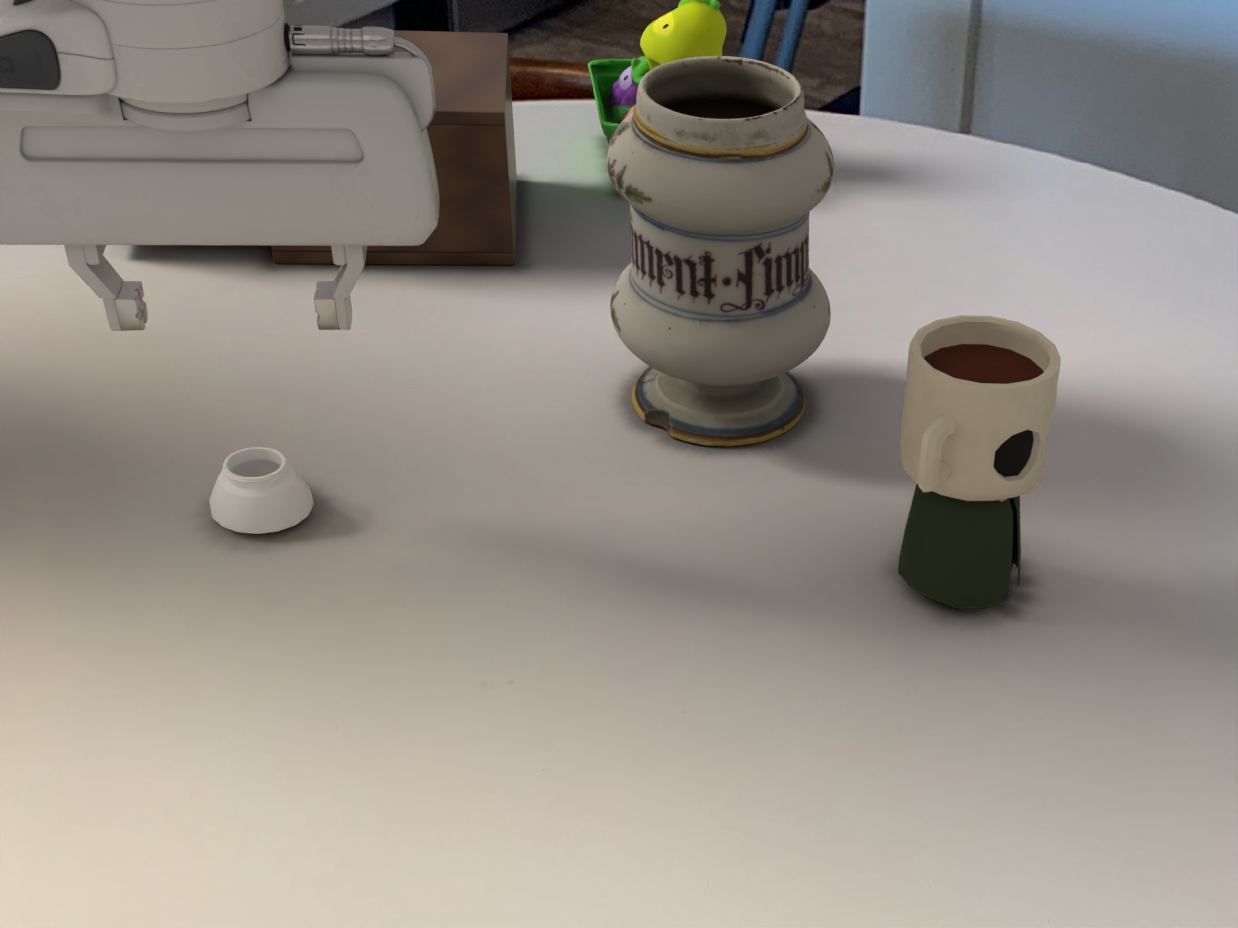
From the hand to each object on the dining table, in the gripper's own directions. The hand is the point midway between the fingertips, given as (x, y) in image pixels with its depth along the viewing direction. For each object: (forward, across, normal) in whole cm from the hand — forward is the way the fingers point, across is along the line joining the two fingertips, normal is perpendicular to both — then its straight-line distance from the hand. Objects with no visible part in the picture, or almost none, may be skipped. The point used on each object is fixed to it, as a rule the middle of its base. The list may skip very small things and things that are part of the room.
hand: (233, 325), depth 90 cm
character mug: (+11, -35, +7) cm, 37 cm away
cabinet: (+10, -5, -34) cm, 36 cm away
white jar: (+11, 0, 0) cm, 11 cm away
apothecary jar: (+11, -24, -11) cm, 28 cm away
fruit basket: (+11, -22, -43) cm, 49 cm away
